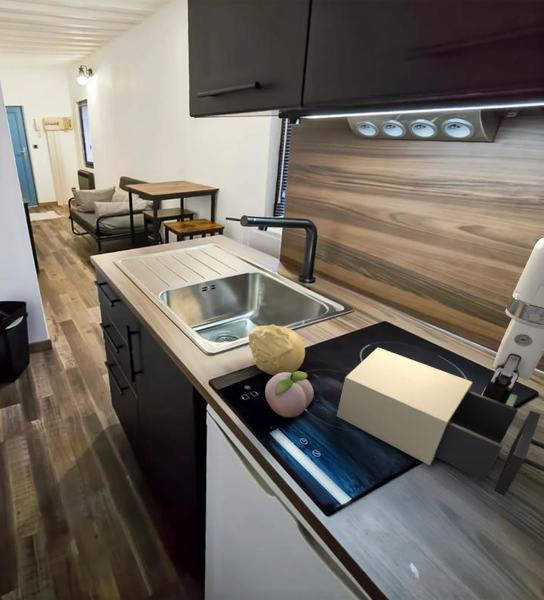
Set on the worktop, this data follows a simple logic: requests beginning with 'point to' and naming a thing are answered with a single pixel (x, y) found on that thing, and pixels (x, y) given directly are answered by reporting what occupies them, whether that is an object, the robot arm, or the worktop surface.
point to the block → (510, 400)
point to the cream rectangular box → (401, 402)
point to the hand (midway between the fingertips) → (498, 390)
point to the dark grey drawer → (487, 439)
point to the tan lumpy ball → (276, 349)
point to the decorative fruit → (289, 393)
